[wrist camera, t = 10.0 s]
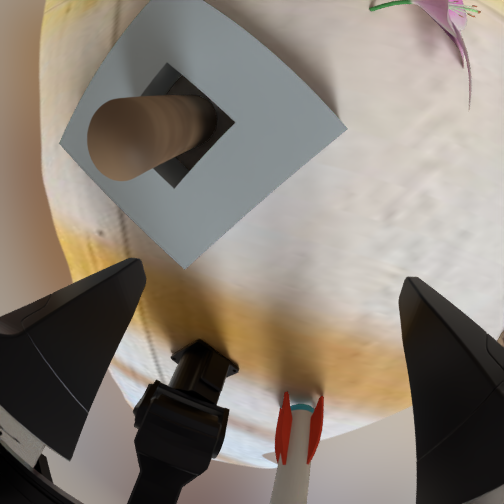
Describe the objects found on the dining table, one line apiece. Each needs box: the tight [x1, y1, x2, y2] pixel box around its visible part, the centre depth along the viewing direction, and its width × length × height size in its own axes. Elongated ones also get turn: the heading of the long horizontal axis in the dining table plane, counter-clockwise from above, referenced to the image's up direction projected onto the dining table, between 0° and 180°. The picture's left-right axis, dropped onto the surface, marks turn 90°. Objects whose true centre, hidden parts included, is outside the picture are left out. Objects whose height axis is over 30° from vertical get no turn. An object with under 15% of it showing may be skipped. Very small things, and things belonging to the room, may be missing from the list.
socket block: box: [59, 0, 347, 270], centre depth 17 cm, size 15×15×4 cm
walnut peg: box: [87, 95, 217, 181], centre depth 15 cm, size 4×4×9 cm
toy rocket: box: [270, 392, 324, 504], centre depth 21 cm, size 6×6×30 cm
